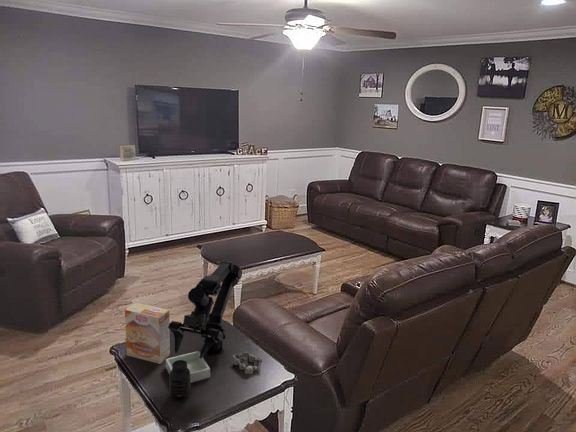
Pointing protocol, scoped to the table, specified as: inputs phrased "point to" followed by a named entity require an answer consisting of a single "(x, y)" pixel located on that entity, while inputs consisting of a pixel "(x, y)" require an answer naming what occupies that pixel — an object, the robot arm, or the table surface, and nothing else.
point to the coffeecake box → (147, 332)
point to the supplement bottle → (179, 381)
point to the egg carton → (244, 359)
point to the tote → (192, 365)
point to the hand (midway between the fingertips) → (187, 355)
